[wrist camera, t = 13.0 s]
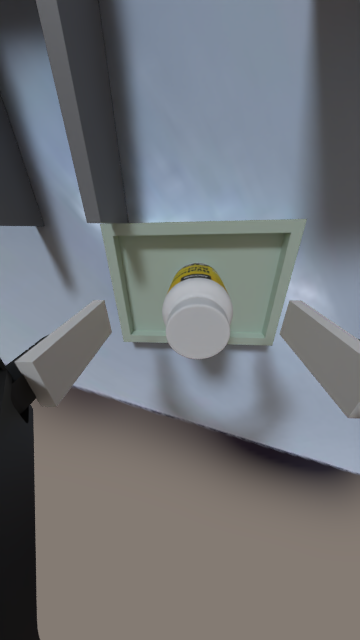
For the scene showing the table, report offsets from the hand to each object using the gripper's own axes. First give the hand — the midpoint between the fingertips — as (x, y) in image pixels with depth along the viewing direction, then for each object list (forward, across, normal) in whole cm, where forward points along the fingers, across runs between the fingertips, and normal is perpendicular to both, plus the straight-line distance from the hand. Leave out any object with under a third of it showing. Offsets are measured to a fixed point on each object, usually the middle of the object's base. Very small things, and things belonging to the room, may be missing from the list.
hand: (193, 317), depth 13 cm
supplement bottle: (+7, 0, 0) cm, 8 cm away
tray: (+8, 0, 0) cm, 8 cm away
